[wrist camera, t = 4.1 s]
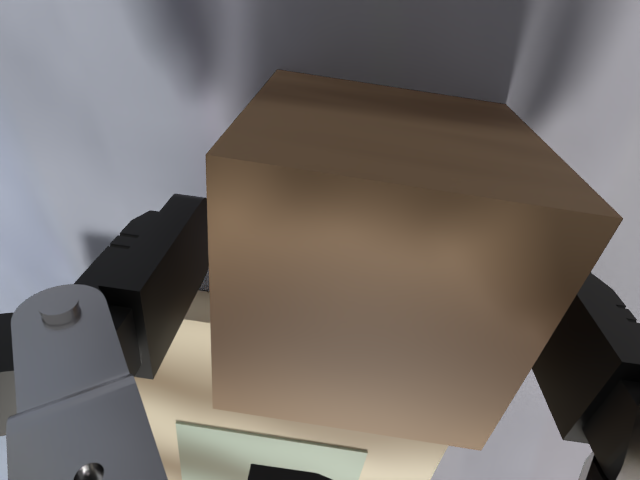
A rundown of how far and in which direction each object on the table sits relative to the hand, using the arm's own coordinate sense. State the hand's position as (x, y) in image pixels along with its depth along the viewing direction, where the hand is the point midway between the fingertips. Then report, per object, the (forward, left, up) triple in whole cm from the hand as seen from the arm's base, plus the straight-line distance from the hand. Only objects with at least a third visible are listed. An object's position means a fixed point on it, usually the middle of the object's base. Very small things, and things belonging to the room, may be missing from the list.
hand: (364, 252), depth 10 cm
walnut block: (0, 0, -3) cm, 3 cm away
